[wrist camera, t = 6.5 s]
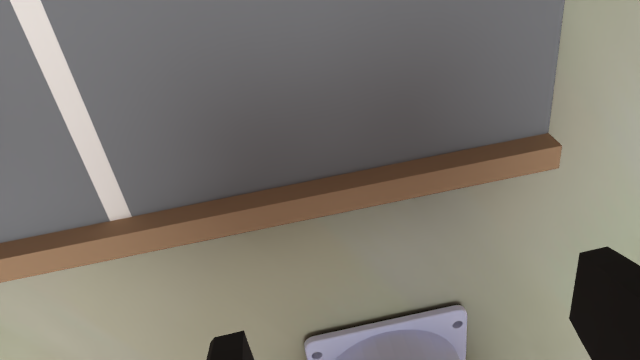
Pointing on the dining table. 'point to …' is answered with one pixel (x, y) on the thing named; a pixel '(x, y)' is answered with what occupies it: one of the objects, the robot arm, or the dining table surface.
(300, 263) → the dining table surface
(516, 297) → the dining table surface
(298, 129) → the lane
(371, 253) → the dining table surface
